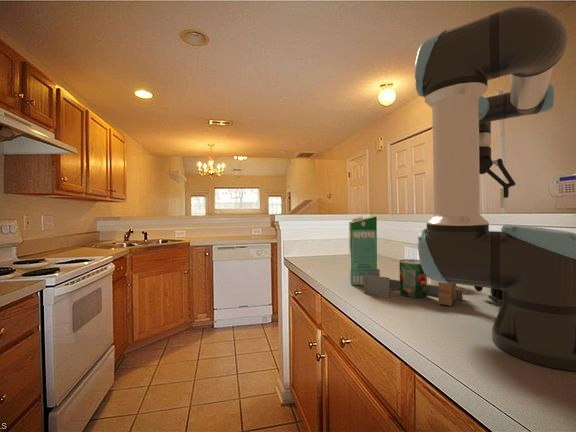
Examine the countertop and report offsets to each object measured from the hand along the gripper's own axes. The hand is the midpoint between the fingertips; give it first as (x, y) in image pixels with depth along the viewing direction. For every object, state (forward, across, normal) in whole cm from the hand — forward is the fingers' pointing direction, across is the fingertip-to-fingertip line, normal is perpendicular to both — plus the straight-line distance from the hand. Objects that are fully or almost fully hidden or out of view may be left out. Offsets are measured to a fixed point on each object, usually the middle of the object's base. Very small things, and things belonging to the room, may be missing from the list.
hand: (478, 208), depth 98 cm
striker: (+28, +3, +26) cm, 38 cm away
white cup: (+28, +11, +6) cm, 30 cm away
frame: (+28, +13, +27) cm, 41 cm away
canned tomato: (+28, +12, +27) cm, 41 cm away
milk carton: (+28, +33, +22) cm, 48 cm away
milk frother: (+28, -11, +18) cm, 35 cm away
